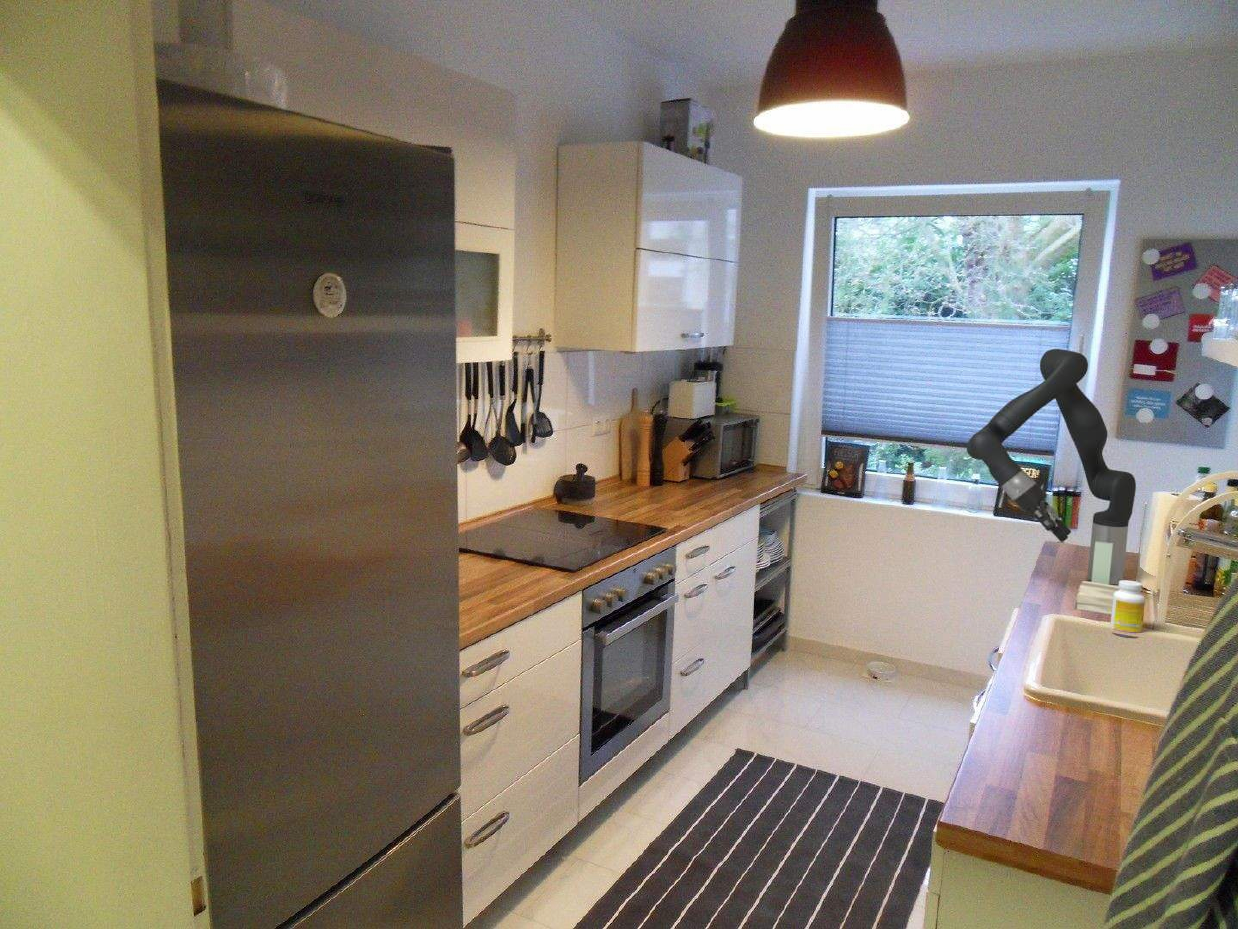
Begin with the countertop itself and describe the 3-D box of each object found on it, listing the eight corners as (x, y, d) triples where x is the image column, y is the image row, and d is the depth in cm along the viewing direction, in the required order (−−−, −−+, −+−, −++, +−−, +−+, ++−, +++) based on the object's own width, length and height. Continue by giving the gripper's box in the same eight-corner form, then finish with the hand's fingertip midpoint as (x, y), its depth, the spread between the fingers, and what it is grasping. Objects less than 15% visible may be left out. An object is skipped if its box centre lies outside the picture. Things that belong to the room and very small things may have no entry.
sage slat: (1090, 599, 232) (1095, 541, 230) (1107, 602, 230) (1113, 543, 228) (1089, 601, 231) (1095, 542, 228) (1106, 604, 228) (1112, 544, 226)
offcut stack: (1077, 602, 230) (1079, 580, 229) (1118, 608, 225) (1120, 586, 224) (1074, 609, 223) (1076, 586, 223) (1117, 615, 218) (1119, 592, 218)
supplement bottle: (1145, 640, 204) (1151, 587, 203) (1115, 638, 206) (1120, 585, 204) (1135, 631, 211) (1140, 580, 209) (1105, 629, 212) (1110, 578, 211)
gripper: (1031, 485, 230) (1076, 533, 225) (1038, 479, 242) (1081, 524, 237) (1008, 502, 233) (1052, 550, 229) (1016, 495, 245) (1057, 541, 241)
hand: (1066, 537), depth 233 cm, fingers open, 8 cm apart
